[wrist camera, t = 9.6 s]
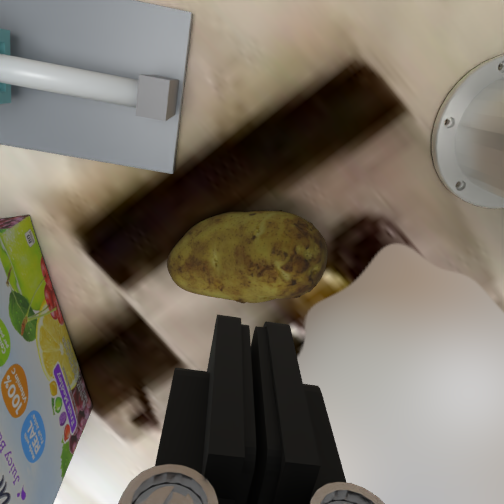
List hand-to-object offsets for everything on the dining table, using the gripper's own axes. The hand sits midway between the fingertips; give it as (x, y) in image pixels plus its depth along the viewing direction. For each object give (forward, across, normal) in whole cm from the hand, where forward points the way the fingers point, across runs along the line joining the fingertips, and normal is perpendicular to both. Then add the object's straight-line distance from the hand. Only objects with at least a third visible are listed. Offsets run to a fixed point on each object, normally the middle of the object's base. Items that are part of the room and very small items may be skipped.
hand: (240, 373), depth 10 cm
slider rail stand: (+29, +16, -4) cm, 33 cm away
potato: (+29, -2, +7) cm, 30 cm away
